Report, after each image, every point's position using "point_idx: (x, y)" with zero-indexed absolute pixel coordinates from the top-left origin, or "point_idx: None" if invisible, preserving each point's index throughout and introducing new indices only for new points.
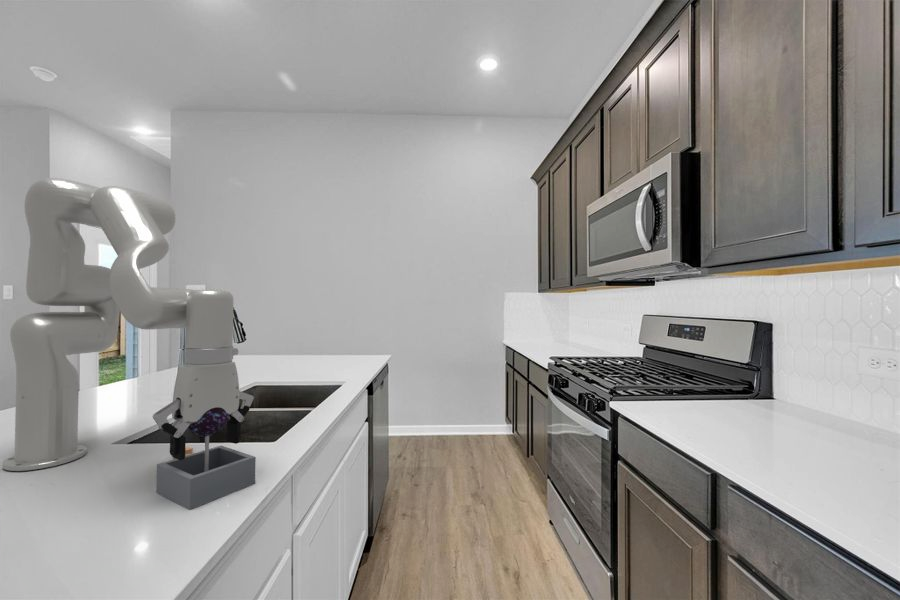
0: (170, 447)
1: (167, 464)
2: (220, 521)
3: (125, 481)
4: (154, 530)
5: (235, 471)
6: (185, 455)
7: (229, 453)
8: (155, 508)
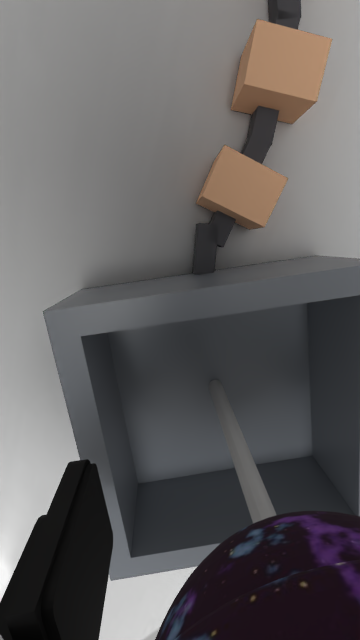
0: (27, 553)
1: (84, 355)
2: (157, 585)
3: (6, 46)
4: (31, 529)
5: None
6: (263, 35)
7: (353, 388)
8: (56, 412)
